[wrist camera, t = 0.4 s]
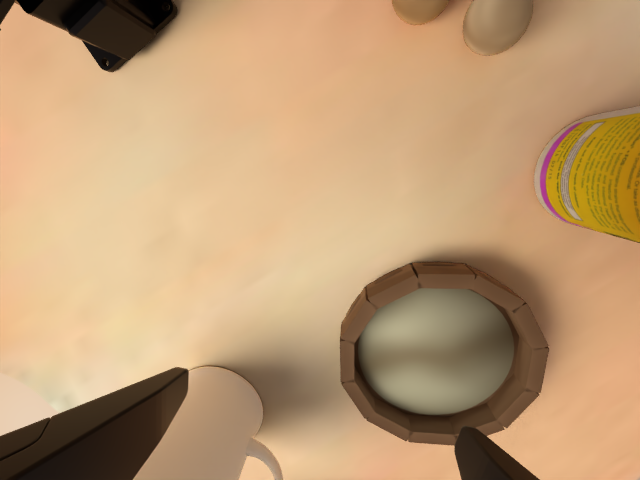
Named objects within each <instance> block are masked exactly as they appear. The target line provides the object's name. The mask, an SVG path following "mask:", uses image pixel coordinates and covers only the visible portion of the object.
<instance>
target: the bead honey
mask: <svg viewBox="0 0 640 480" xmlns="http://www.w3.org/2000/svg"><path fill="white" fill-rule="evenodd" d="M448 2H449V0H392V4H393V7H394V10H395V12H396V14H397V15H398V16H399V18H400V19H401V20H403V21H404V22H406V23H408V24H411V25H422V24H425V23H428V22H430V21H432V20H433V19H435V18H436V17H437V16H438V15H439V14H440V13H441V12H442V11H443V10H444V9H445V7H446V6H447V4H448Z"/></svg>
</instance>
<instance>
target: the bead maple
mask: <svg viewBox="0 0 640 480" xmlns="http://www.w3.org/2000/svg"><path fill="white" fill-rule="evenodd" d="M532 12H533V0H473V2H472V3H471V5H470V6H469V8H468V10H467V12H466V15H465V18H464V22H463V37H464V40H465V43H466V44H467V46H468V47H469V48H470V49H471V50H472V51H473V52H475V53H477V54H479V55H485V56H490V55H495V54H499V53H501V52H503V51H505V50H507V49H509V48H510V47H511V46H513V45H514V44H515V43H516V42H517V41H518V40H519V39H520V38H521V37H522V35H523V34H524V32H525V31H526V29H527V27H528V25H529V23H530V20H531V17H532Z"/></svg>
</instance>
